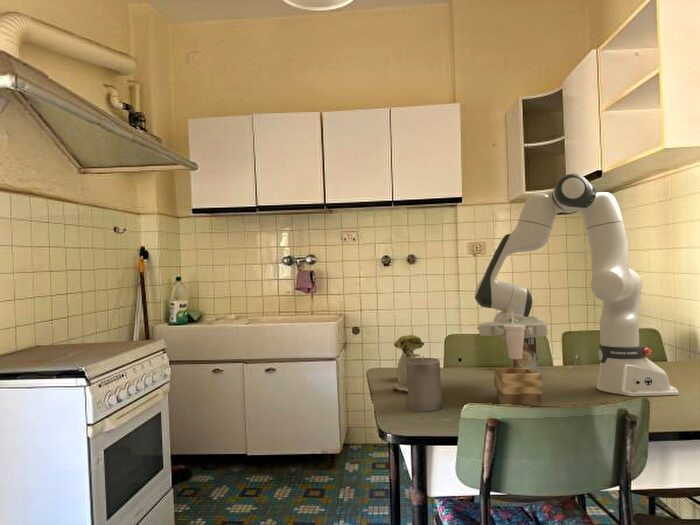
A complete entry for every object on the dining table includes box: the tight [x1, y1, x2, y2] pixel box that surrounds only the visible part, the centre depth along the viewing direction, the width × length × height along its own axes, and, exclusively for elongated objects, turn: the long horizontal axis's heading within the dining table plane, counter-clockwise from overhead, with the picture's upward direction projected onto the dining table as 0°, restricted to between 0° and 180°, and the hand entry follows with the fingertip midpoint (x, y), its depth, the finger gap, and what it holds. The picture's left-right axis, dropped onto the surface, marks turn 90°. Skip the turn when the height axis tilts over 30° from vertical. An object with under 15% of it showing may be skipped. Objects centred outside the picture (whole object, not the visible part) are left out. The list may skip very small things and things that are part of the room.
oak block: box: [493, 367, 543, 395], centre depth 154 cm, size 11×11×6 cm
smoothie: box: [504, 311, 526, 360], centre depth 155 cm, size 6×6×14 cm
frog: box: [392, 334, 425, 392], centre depth 172 cm, size 12×13×18 cm
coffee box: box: [511, 337, 538, 370], centre depth 202 cm, size 9×6×16 cm
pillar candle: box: [407, 355, 443, 413], centre depth 150 cm, size 10×10×15 cm
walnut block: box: [496, 388, 542, 407], centre depth 154 cm, size 11×11×4 cm
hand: (515, 332), depth 154 cm, fingers closed on smoothie, 6 cm apart
